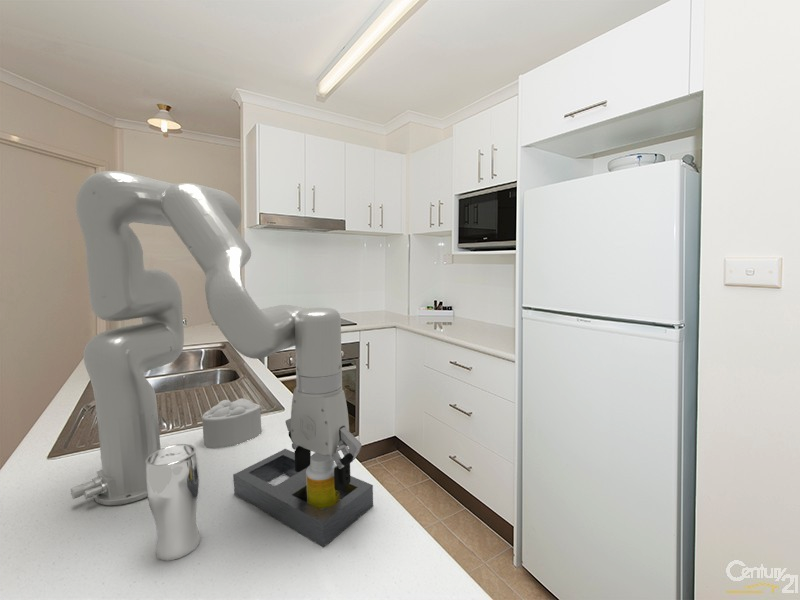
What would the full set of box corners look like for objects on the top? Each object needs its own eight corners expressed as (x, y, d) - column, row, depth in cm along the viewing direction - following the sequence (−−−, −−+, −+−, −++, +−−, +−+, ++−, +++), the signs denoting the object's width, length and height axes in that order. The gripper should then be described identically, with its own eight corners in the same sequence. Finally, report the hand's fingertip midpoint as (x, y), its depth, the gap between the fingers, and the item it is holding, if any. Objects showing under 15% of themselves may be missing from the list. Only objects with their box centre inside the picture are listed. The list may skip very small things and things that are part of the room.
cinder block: (323, 547, 59) (322, 522, 59) (234, 494, 73) (233, 474, 73) (373, 506, 69) (372, 485, 69) (286, 466, 83) (285, 448, 82)
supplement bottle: (341, 519, 66) (339, 462, 65) (308, 525, 64) (305, 466, 63) (338, 499, 71) (336, 446, 70) (307, 504, 70) (305, 450, 69)
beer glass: (211, 529, 64) (205, 442, 62) (190, 562, 57) (182, 465, 55) (168, 531, 63) (161, 443, 62) (141, 564, 57) (132, 467, 55)
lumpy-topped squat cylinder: (266, 434, 99) (264, 401, 98) (214, 453, 89) (212, 417, 88) (245, 423, 106) (244, 392, 105) (196, 440, 96) (193, 406, 95)
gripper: (268, 378, 67) (272, 471, 69) (341, 398, 57) (343, 506, 59) (302, 368, 73) (305, 454, 75) (373, 384, 63) (374, 483, 65)
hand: (322, 477), depth 67 cm, fingers open, 9 cm apart
